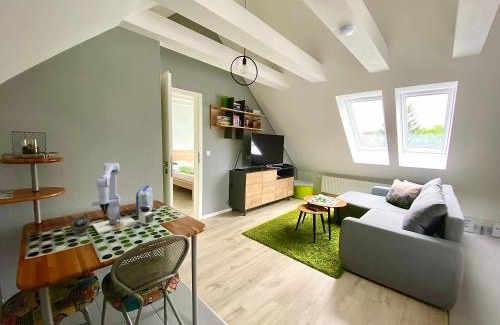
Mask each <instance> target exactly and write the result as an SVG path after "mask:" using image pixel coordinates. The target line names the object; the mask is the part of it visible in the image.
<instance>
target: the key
mask: <svg viewBox="0 0 500 325" xmlns="http://www.w3.org/2000/svg"><path fill="white" fill-rule="evenodd" d="M120 218H121V217H119V218H114V219H109V225H116V227H117V228H118V227H121V223H120Z"/></svg>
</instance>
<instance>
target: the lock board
mask: <svg viewBox="0 0 500 325" xmlns="http://www.w3.org/2000/svg"><path fill="white" fill-rule="evenodd" d="M119 218H120V223H121V227H118V228H117V227H116V225H109V220H110V219H109V220H105V221H99V222H96V223H92V227H93V229H94V230H95V231H96V232H97V234H99V235H100V234H103V233H107V232H111V231H115V230H118V229H123V228H126V227H131V226H134V225H137V224H138V222H137V221H136V220H134V219H133V218H132V217H130V215H127V216H121V217H119Z"/></svg>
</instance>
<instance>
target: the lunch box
mask: <svg viewBox="0 0 500 325" xmlns="http://www.w3.org/2000/svg"><path fill="white" fill-rule="evenodd" d="M153 190H154V189H153V187H152V186H149V185H145V186H142V187H141V189H139V190H138V191H137V192H136V194H135V201H136V202H135V214H136V216H139V214H140V213H141V208H142V207H144V206H149V207H150V212H152V210H153V209H154V191H153Z"/></svg>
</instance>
